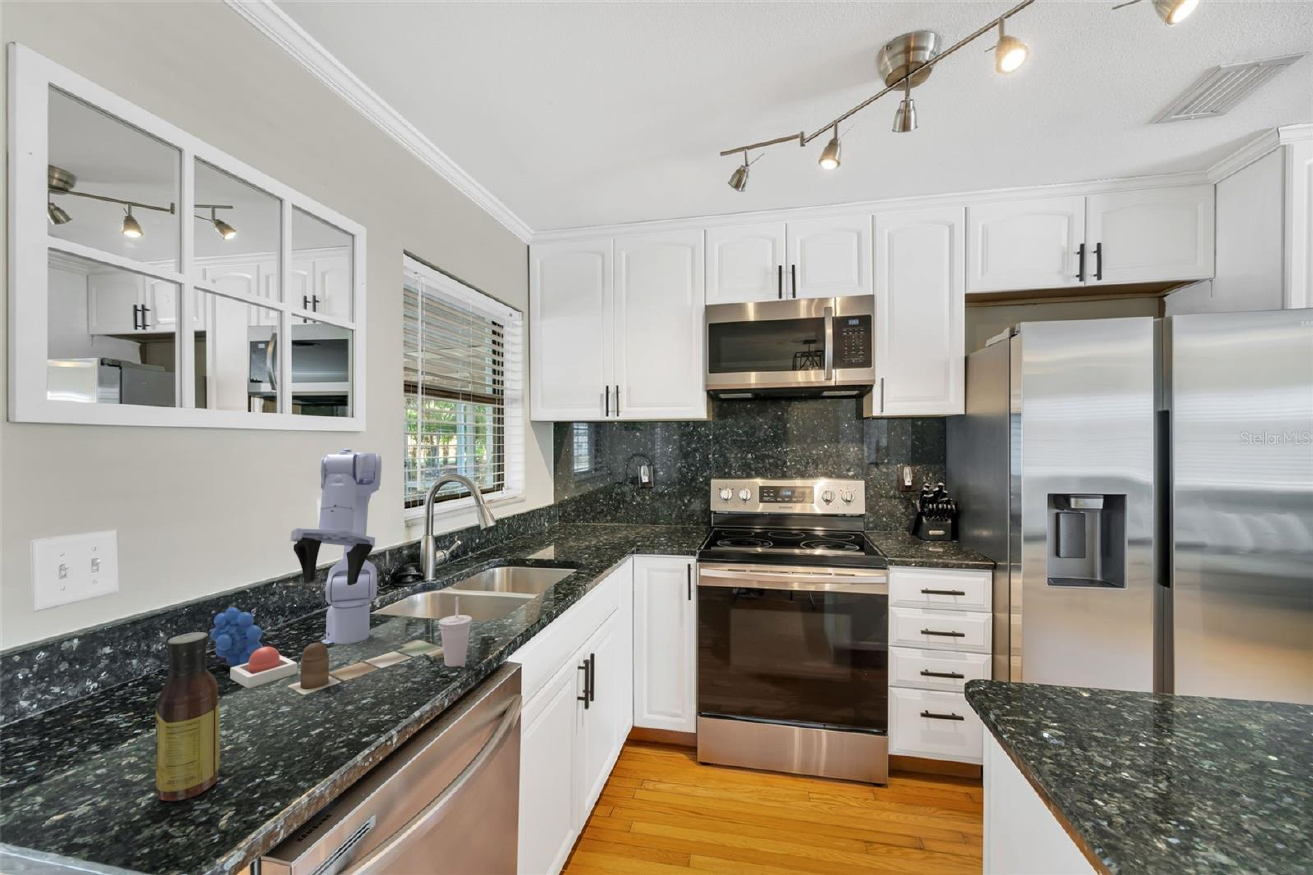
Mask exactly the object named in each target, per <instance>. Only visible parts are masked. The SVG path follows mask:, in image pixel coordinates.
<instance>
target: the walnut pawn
mask: <svg viewBox="0 0 1313 875" xmlns="http://www.w3.org/2000/svg"><path fill="white" fill-rule="evenodd" d="M329 672H330V654H329V652H328V648H327V646H326V644H324V643H322V642H313V643H311V644H309V645H307V646H306V647H305V648H304V649H303V651H302V655H301V659H300V681H299V682H300V687H301V688H302V689H314V688H318V687H321V686H324V685H326V684H327V683H328V682H329V676H330V674H329Z"/></svg>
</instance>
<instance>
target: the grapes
mask: <svg viewBox="0 0 1313 875" xmlns="http://www.w3.org/2000/svg"><path fill="white" fill-rule="evenodd" d="M213 623H214V625H215V627H214V628H213V629H212V630H211V632H210V638H211V640H212V641H214V643H215V646H216V648H215V654H216V655H217V656H218V657H220V658H223V659H225V658H226V663H227V664H228V666H229V667H230V668H231V667H235V666H238V665H242V664H246V663H249V658H250V656H251V655H252V654H253V652H255V651H256V650H257V649H259V648H262V647H264V645H263V644H262V642H260V641H259V640H260V639H261V638H262V636H263V630H262V629H261V626H258V625H255V624H253V623H254V616H253V615H252V613H250V612H249V611H248V612H247V611H243V612H241V610H240V609H239V608H237V607H233V606H231V607H229V608H228V607H227V609H225V612H220V613H218V614H217V615H215V617H214V619H213Z"/></svg>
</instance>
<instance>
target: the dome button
mask: <svg viewBox="0 0 1313 875" xmlns="http://www.w3.org/2000/svg"><path fill="white" fill-rule="evenodd" d="M279 655H280V652H279V651H278V650H277V649H276V648H275V647H273V646H263V647H262V648H259V649H257V650H256V651H255V652H253V654H252V655H251V656H250V658H249V666H248V672H249V673H251V674H255V673H259V672H262V671H265V670H269V669H272V668H276V667H279V664H280V656H279Z"/></svg>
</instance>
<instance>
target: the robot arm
mask: <svg viewBox="0 0 1313 875" xmlns="http://www.w3.org/2000/svg"><path fill="white" fill-rule="evenodd" d="M381 476H382V456H381V455H380V453H375V452H363V451H362V452H355V451H353V450H352V449H351V448H343V449H342V451H339V453H337V454H327V456H326V457H324V456H323V457H322V459H321V462H320V479H321V480H320V481H321V482H320V488H321V491H322V492H321V500H320V501H321V502H320V510H319V511H320V512H319V523H318V528H301V527H297V528H295V529H292V531H291V533H290V542H295V543H294V544H293V552H294V553H295V555H296V557H297V559H298V561H299V565H300V567H301V572H302V575H303V583H304V584H310V583H313V582H315V578H316V573H317V561H318V556H319V552H320V548H321V546H322V544H326V545H335V546H343V554H342V560H340V561H339V562H337V563H336V564H335V565H333V566H332V567H331V568H329V571H328V574H327V575H328V576H327V579H326V583H325V601H326V603H328V604H329V605H330V606H329V608H328V609H327V612H326V616H325V617H326V618H325V619H326V620H325V621H326V623H325V625H326V626H325V629H326V630H325V631H326V632H325V639H323V640H321V643H322V644H324V645H329V644H332V643H334V644H337V645H349V644H355V643H358V642H362V641H365V640H367V639H369V638H370V619H371V618H370V616H371V615H370V614H371V613H370V612H371V611H370V610H371V609H370V608H371V607H370V606H371V605H370V604H371V602H372V601H374V599H375V598H376V597H377V590H378V576H377V575H378V574H377V573H378V569H377V567H376V566H375V565H374V564H373V562H370V561H369V560H367V559H368V556H369V555H370V553H371V552H372V551H373V548H375V547H376V537H374V536H369V535H367V528H368V526H367V525H368V514H369V503H370V499H371V497H372V494H373V493H376V492H377V491H379V489H380V486H381V482H382V481H381V480H382V479H381V478H382V477H381Z"/></svg>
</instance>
